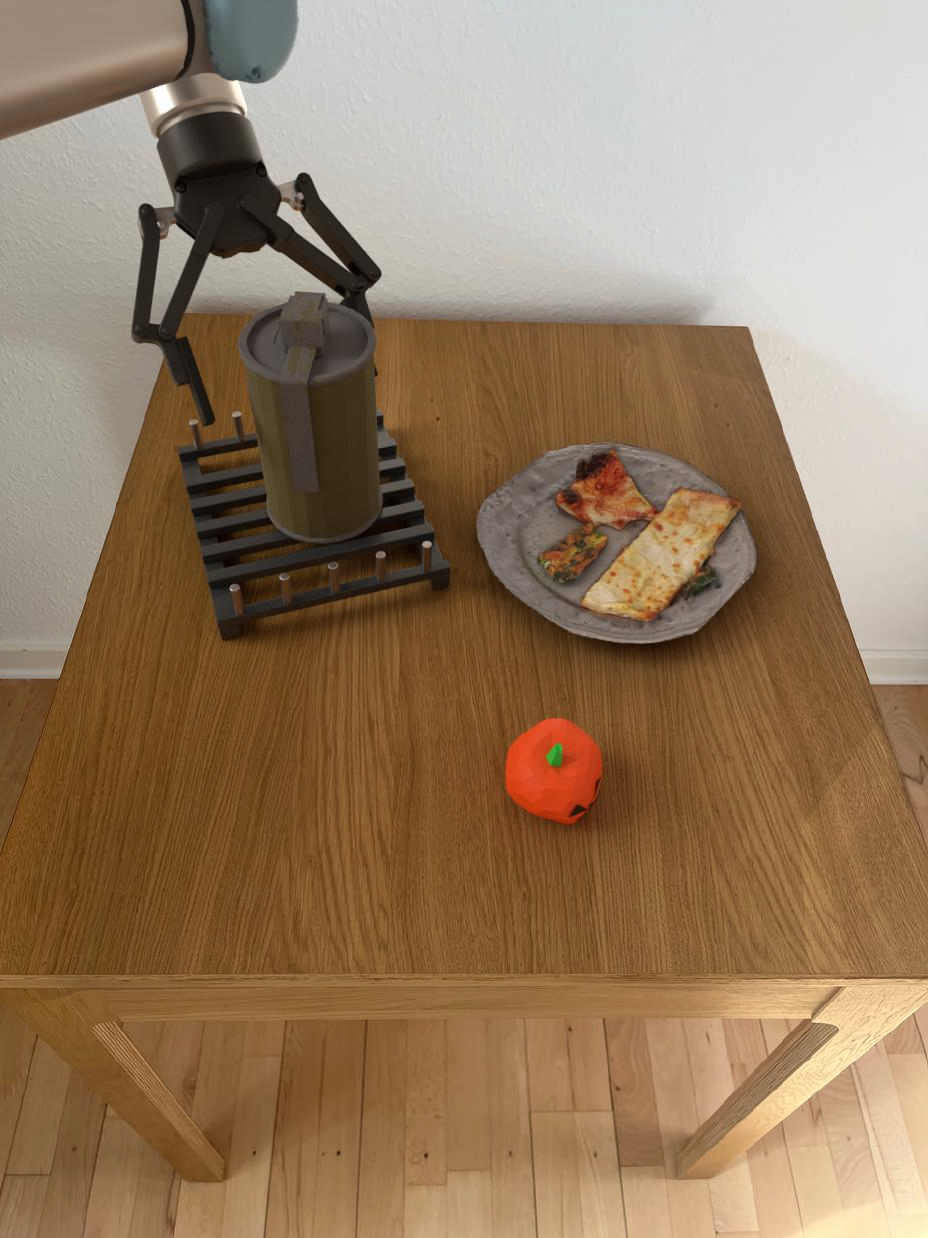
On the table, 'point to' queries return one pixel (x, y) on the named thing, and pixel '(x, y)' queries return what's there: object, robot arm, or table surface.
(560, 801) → the pumpkin
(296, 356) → the canister
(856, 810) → the table surface
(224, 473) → the dish rack
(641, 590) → the food plate
